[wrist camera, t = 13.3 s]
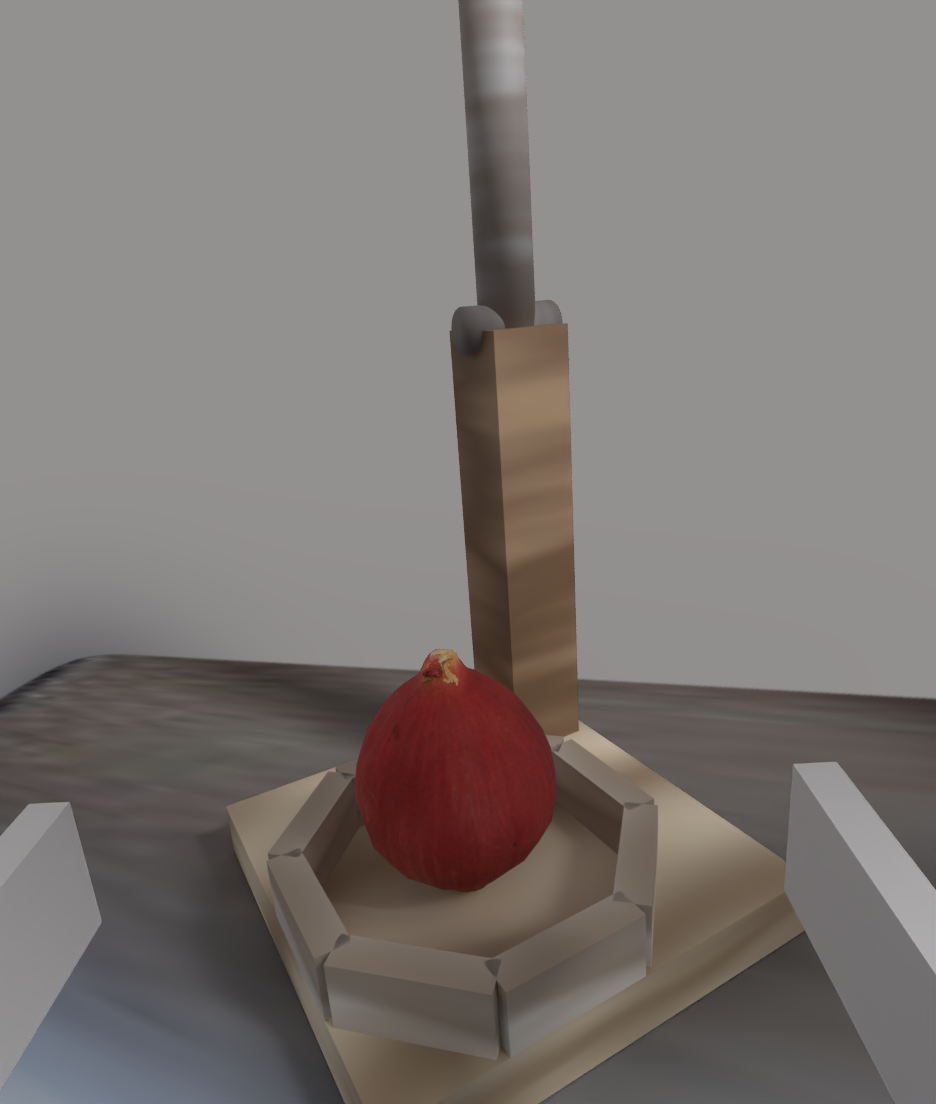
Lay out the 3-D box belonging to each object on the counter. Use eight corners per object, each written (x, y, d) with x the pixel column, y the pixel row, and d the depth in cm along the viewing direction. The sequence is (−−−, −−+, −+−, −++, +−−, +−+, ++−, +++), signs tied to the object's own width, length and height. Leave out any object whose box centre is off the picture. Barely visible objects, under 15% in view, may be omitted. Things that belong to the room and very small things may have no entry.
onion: (361, 850, 26) (320, 631, 23) (522, 803, 27) (500, 591, 25) (399, 987, 20) (351, 722, 18) (597, 919, 22) (578, 664, 19)
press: (804, 930, 24) (960, -937, 12) (388, 1201, 17) (-107, -2158, 6) (541, 732, 35) (494, -317, 24) (234, 851, 29) (-31, -501, 18)
